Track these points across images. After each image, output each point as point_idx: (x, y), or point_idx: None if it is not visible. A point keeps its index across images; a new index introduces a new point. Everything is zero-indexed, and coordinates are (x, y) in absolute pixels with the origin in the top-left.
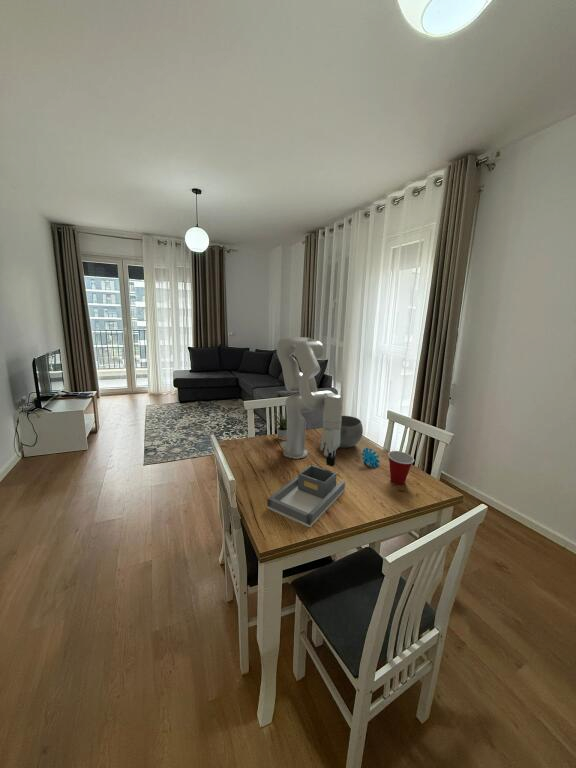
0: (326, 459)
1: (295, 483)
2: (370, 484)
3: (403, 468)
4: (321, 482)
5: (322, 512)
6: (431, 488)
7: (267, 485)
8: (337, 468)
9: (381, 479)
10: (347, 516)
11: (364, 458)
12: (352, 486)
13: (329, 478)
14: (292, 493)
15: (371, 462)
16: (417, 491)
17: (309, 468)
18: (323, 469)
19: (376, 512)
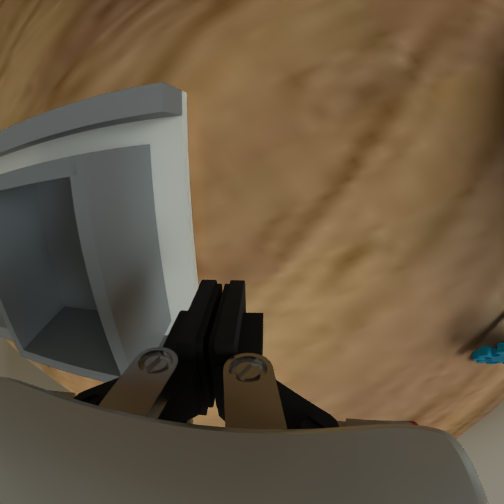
0: (189, 309)
1: (19, 147)
2: (334, 400)
3: None
4: (13, 337)
5: None
6: None
7: (22, 33)
8: (429, 217)
9: (393, 407)
10: (86, 381)
11: (500, 353)
12: (270, 359)
13: (59, 366)
14: (8, 170)
15: (491, 359)
16: None
17: (47, 179)
18: (98, 300)
19: None
